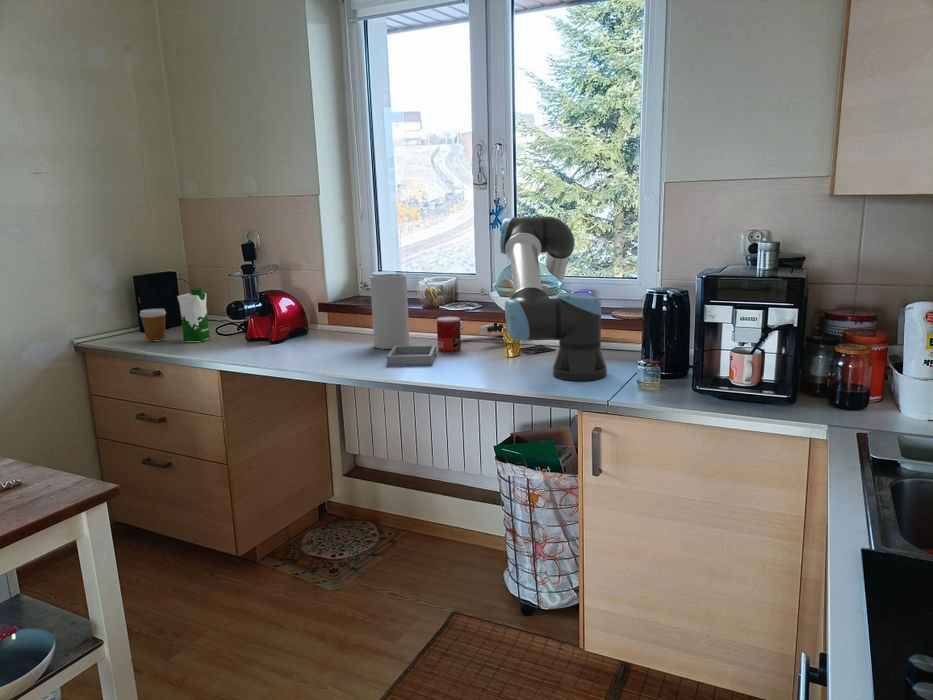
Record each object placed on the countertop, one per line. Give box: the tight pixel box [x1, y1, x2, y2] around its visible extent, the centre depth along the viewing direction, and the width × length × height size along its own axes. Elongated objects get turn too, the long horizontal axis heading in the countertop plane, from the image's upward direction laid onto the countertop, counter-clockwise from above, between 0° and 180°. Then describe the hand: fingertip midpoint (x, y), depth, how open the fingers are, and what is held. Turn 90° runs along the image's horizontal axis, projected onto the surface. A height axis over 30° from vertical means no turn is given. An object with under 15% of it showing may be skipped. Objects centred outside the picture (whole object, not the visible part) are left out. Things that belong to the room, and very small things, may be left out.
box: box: [386, 344, 437, 367], centre depth 223 cm, size 16×14×3 cm
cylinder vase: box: [369, 273, 410, 350], centre depth 242 cm, size 12×12×25 cm
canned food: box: [436, 316, 462, 353], centre depth 235 cm, size 8×8×11 cm
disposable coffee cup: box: [138, 308, 167, 341], centre depth 267 cm, size 10×10×12 cm
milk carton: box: [176, 288, 211, 342], centre depth 263 cm, size 9×9×20 cm
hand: (465, 329), depth 242 cm, fingers open, 13 cm apart
